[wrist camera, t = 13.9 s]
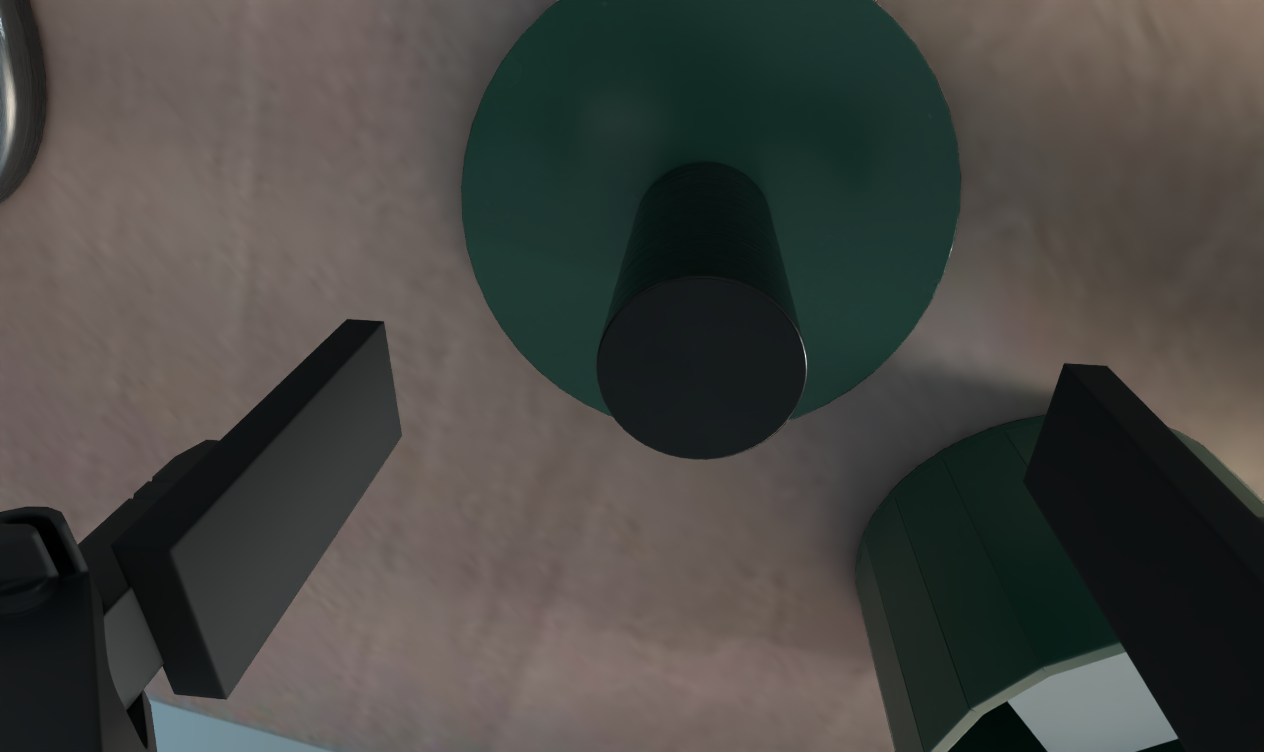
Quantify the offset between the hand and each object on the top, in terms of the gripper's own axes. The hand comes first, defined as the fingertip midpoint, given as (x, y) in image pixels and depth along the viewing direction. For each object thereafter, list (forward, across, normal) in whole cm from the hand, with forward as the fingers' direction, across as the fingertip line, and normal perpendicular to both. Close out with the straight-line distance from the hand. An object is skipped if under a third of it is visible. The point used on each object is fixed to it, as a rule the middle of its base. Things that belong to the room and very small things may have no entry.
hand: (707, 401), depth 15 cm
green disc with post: (+11, 0, 0) cm, 11 cm away
